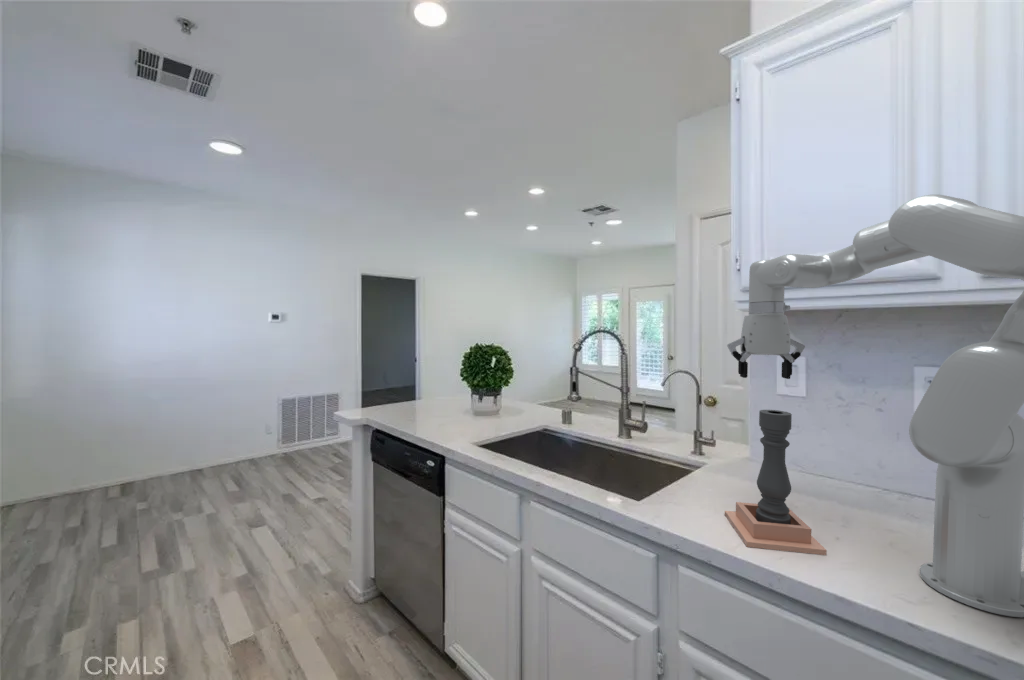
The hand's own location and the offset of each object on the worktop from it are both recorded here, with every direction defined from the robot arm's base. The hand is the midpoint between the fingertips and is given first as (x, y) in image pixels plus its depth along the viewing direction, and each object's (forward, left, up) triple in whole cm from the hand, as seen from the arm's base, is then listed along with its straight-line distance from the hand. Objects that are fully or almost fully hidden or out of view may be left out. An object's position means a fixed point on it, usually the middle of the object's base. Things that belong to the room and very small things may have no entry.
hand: (764, 377), depth 101 cm
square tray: (+5, +18, -31) cm, 36 cm away
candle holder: (+5, +18, -31) cm, 36 cm away
